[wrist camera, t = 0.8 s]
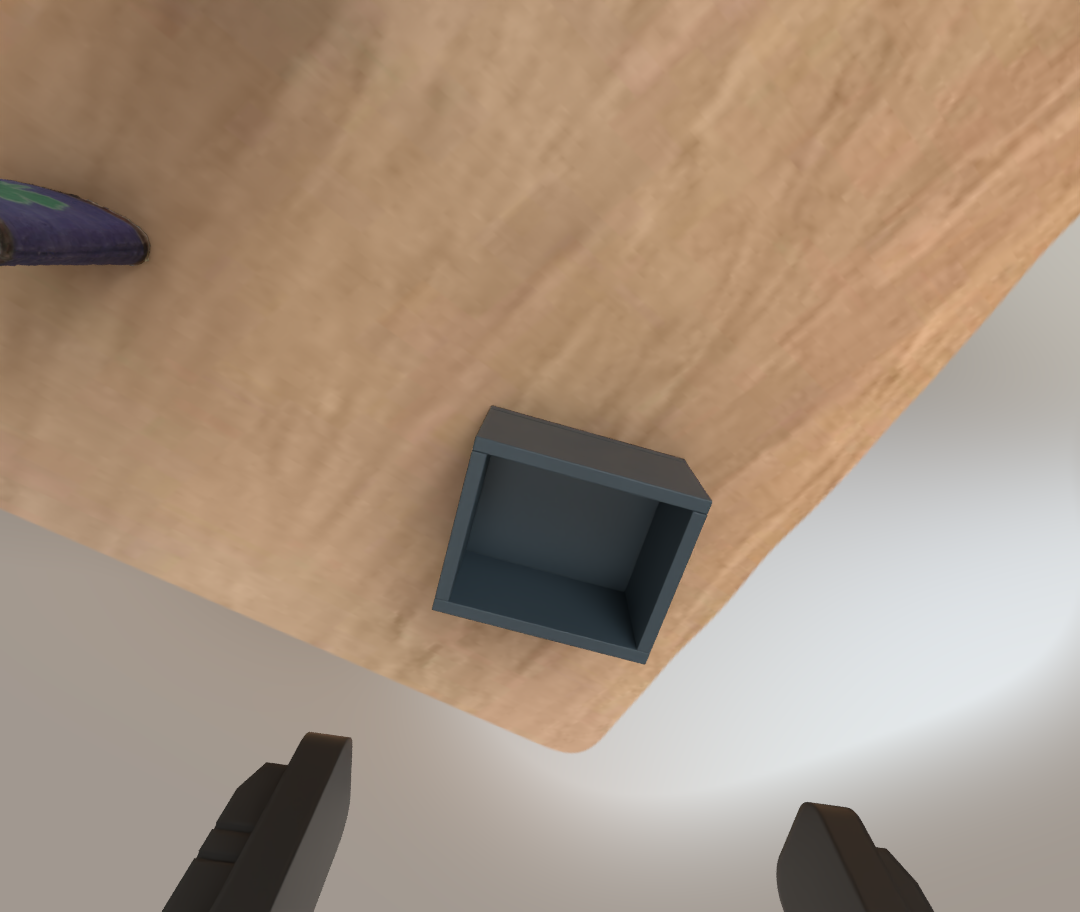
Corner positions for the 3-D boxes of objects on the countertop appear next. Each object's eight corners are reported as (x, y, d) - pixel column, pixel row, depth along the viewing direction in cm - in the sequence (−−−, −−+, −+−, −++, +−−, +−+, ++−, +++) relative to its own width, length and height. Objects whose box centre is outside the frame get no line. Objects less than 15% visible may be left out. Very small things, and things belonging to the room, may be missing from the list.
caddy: (491, 404, 34) (475, 436, 27) (684, 459, 35) (713, 501, 28) (453, 551, 37) (431, 609, 31) (630, 598, 38) (645, 665, 31)
